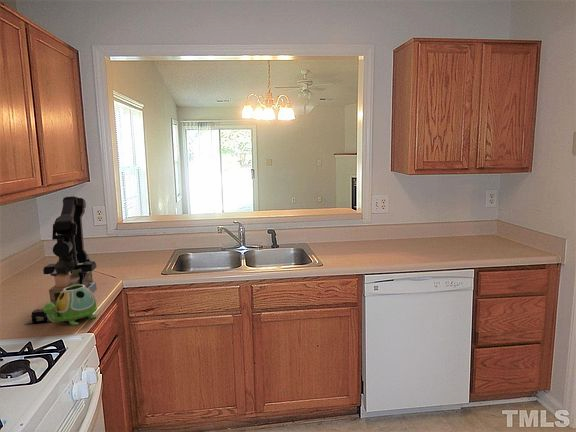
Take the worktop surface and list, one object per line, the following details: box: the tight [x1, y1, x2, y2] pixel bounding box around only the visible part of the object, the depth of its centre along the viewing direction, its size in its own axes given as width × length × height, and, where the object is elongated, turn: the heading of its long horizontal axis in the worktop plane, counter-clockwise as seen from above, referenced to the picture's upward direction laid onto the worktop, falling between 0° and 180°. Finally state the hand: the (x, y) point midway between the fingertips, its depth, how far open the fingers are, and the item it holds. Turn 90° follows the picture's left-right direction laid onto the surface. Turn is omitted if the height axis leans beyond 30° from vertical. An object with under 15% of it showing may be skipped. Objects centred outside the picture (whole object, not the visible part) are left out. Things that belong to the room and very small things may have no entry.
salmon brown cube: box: [53, 272, 71, 287], centre depth 166 cm, size 4×4×4 cm
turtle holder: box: [42, 284, 98, 326], centre depth 152 cm, size 12×18×12 cm
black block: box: [23, 308, 53, 326], centre depth 154 cm, size 12×7×5 cm, turn 98°
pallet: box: [48, 271, 94, 302], centre depth 174 cm, size 24×6×5 cm, turn 3°
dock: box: [52, 282, 98, 313], centre depth 174 cm, size 25×9×3 cm, turn 5°
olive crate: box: [72, 263, 83, 276], centre depth 180 cm, size 4×4×4 cm
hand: (72, 287), depth 174 cm, fingers closed on pallet, 6 cm apart
